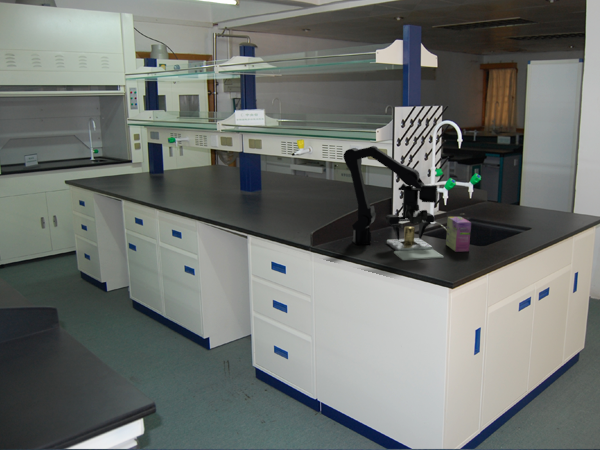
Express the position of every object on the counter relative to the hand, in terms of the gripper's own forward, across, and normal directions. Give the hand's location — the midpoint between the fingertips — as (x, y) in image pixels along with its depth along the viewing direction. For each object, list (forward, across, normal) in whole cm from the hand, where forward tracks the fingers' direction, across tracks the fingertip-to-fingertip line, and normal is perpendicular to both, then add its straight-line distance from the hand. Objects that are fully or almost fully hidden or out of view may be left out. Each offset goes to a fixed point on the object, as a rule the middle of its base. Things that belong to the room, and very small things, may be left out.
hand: (409, 239), depth 210 cm
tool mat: (+3, -1, -12) cm, 13 cm away
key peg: (+3, 0, 0) cm, 3 cm away
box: (+3, +18, -6) cm, 19 cm away
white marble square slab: (+3, 0, 0) cm, 3 cm away
